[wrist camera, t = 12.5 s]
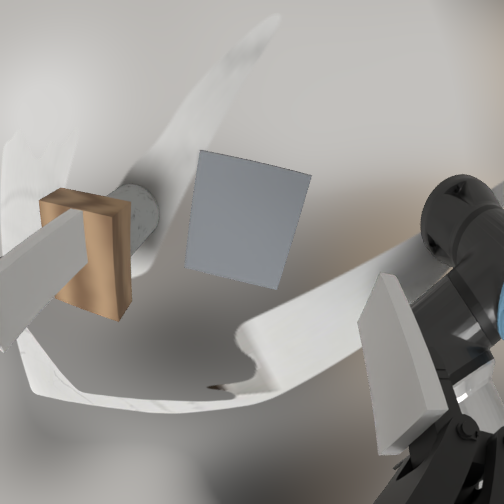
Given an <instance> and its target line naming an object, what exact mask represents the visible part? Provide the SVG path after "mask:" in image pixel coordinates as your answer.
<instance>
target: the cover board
mask: <svg viewBox="0 0 504 504" xmlns="http://www.w3.org/2000/svg"><path fill="white" fill-rule="evenodd" d="M39 206H40V216H41V224H42V227H43V226H45V225H46V224H48V223H49V222H51V221H52V220H54V219H55V218H57V217H58V216H60V215H61V214H63V213H64V212H66V211H67V210H69V209H70V208H71V209H76V210H81V211H83V222H84V233H85V242H86V251H87V259H88V263H87V264H86V265H85V266H84V267H83V268H82V269H81V270H80V271H79V272H78V273H77V274H76V275H75V276H74V277H73V278H72V279H71V280H70V281H69V282H68V283H67V284H66V285H65V286H64V287H63V288H62V289H61V290H60V291H59V292H58V293H57V294H56V295H55V298H56V299H58V300H61V301H63V302H66V303H68V304H71V305H73V306H76V307H79V308H81V309H84V310H87V311H90V312H92V313H95V314H98V315H101V316H103V317H106V318H109V319H112V320H115V321H118V322H119V321H120V319H121V317H122V316H123V314H124V313H125V311H126V310H127V308H128V307H129V305H130V303H131V302H132V289H131V255H130V226H131V202H130V201H125V200H120V199H115V198H110V197H106V196H100V195H95V194H90V193H85V192H80V191H75V190H70V189H65V188H59V189H57V190H56V191H54V192H52V193H50V194H49V195H47V196H45V197H44V198H42V199H40V200H39Z"/></svg>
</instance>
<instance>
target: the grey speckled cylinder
mask: <svg viewBox="0 0 504 504" xmlns="http://www.w3.org/2000/svg"><path fill="white" fill-rule="evenodd" d="M106 197H110V198H115V199H120V200H125V201H130V202H131V226H130V255H131V256H132V255H133V253H134V252H135V251H136V250H137V249H138V248H139V246H140V245H141V244H142V243H143V242H144V241H145V239H146V238H147V237H148V236H149V235H150V234H151V233H152V232H153V231H154V230H155V228H156V227H157V224H158V221H159V209H158V205H157V203H156V201H155V199H154V197H153V196H152V195H151V194H150V193H149V192H148V191H147V190H146V189H145V188H143V187H141V186H139V185H135V184H125V185H122V186H120V187H118V188H117V189H116V190H115V191H113V192H112V193H110V194H109V195H107V196H106Z"/></svg>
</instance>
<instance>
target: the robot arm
mask: <svg viewBox="0 0 504 504" xmlns="http://www.w3.org/2000/svg"><path fill="white" fill-rule="evenodd" d="M421 235H422V238H423V241H424V243H425V245H426V247H427V248H428V249H429V251H430V252H431V253H432V255H433V256H434V257H435V258H437V259H438V260H439V261H441V262H443V263H445V264H447V265H449V266H451V267H453V269H452V270H451V271H450V272H449V273H448V274H446V275H445V276H444V277H443V278H442V279H441V280H440V281H439V282H437V283H436V284H435V285H434V286H433V287H432V288H431V289H429V290H428V291H427V292H426V293H425V294H423V295H422V296H421V297H420V298H418V299H417V300H416V301H415V302H413V303H412V304H411V305H409V303H408V300H407V298H406V296H405V294H404V292H403V290H402V287H401V285H400V283H399V281H398V279H397V277H396V275H391V274H387V273H382V272H380V274H379V276H378V278H377V281H376V283H375V285H374V287H373V290H372V292H371V294H370V296H369V299H368V301H367V303H366V305H365V307H364V309H363V312H362V314H361V316H360V318H359V320H358V322H357V323H358V328H359V333H360V338H361V343H362V348H363V353H364V358H365V364H366V369H367V374H368V381H369V387H370V393H371V400H372V406H373V413H374V420H375V428H376V436H377V445H378V454H379V455H398V454H400V453H401V452H402V451H403V450H405V449H406V448H407V447H408V446H409V452H410V455H409V456H408V457H406V458H405V459H404V460H402V461H401V462H400V463H398V464H397V465H396V466H395V467H394V468H393V469H394V470H396V469H397V468H399V469H398V470H397V472H396V474H395V475H394V476H393V478H392V479H391V480H390V482H389V483H388V485H387V486H386V487H385V489H384V490H383V491H382V493H381V494H380V495H379V497H378V498H377V499H376V500H375V502H374V503H373V504H504V405H503V403H502V401H501V399H500V396H499V394H498V392H497V390H496V388H495V386H494V384H493V382H492V374H493V369H494V365H495V359H494V357H493V355H492V354H491V352H490V348H491V347H492V345H494V344H496V343H497V342H498V341H499V340H500V339H503V340H504V209H502V207H501V206H500V204H499V202H498V201H497V199H496V197H495V196H494V194H493V192H492V191H491V189H490V188H489V187H488V186H487V185H486V184H485V183H483V182H482V181H480V180H478V179H477V178H475V177H473V176H470V175H464V174H462V175H455V176H452V177H450V178H447V179H446V180H444V181H442V182H441V183H440V184H439V185H438V186H437V187H436V188H435V189H434V190H433V191H432V193H431V194H430V195H429V197H428V199H427V201H426V203H425V205H424V208H423V211H422V215H421ZM87 263H88V259H87V251H86V242H85V233H84V222H83V211H81V210H76V209H71V208H70V209H69V210H67V211H66V212H64V213H63V214H61V215H60V216H58V217H57V218H55V219H54V220H52V221H51V222H49V223H48V224H46V225H45V226H43V227H42V228H41V229H39V230H38V231H36V232H35V233H34V234H32V235H31V236H29V237H28V238H27V239H25V240H24V241H23V242H21V243H20V244H19V245H17V246H16V247H15V248H13V249H12V250H11V251H9V252H8V253H7V254H5V255H4V256H2V257H0V350H1V351H2V352H4V353H5V352H6V351H7V350H8V349H9V347H10V346H11V345H12V344H13V342H14V341H15V340H16V339H17V338H18V337H19V335H20V334H21V333H22V332H23V331H24V330H25V328H26V327H27V326H28V325H29V324H30V323H31V321H32V320H33V319H34V318H35V317H36V316H37V315H38V314H39V313H40V311H41V310H42V309H43V308H44V307H45V306H46V305H47V304H48V303H49V302H50V301H51V300H52V298H53V297H54V296H55V295H56V294H57V293H58V292H59V291H60V290H61V289H62V288H63V287H64V286H65V285H66V284H67V283H68V282H69V281H70V280H71V279H72V278H73V277H74V276H75V275H76V274H77V273H78V272H79V271H80V270H81V269H82V268H83V267H84V266H85V265H86V264H87Z"/></svg>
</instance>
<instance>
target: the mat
mask: <svg viewBox="0 0 504 504" xmlns="http://www.w3.org/2000/svg"><path fill="white" fill-rule="evenodd" d="M310 180H311V175H308V174H304V173H301V172H297V171H293V170H289V169H285V168H281V167H277V166H273V165H269V164H265V163H260V162H256V161H251V160H247V159H242V158H238V157H232V156H228V155H223V154H218V153H213V152H208V151H203V150H200V154H199V160H198V166H197V173H196V179H195V187H194V194H193V201H192V208H191V216H190V223H189V231H188V240H187V249H186V258H185V268H189V269H193V270H196V271H200V272H204V273H208V274H213V275H216V276H221V277H225V278H229V279H233V280H237V281H241V282H246V283H250V284H254V285H259V286H263V287H267V288H271V289H276V290H277V288H278V284H279V282H280V279H281V275H282V272H283V269H284V266H285V263H286V259H287V256H288V253H289V250H290V247H291V243H292V240H293V237H294V234H295V230H296V227H297V224H298V221H299V217H300V214H301V211H302V207H303V204H304V200H305V197H306V194H307V190H308V187H309V183H310Z"/></svg>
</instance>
